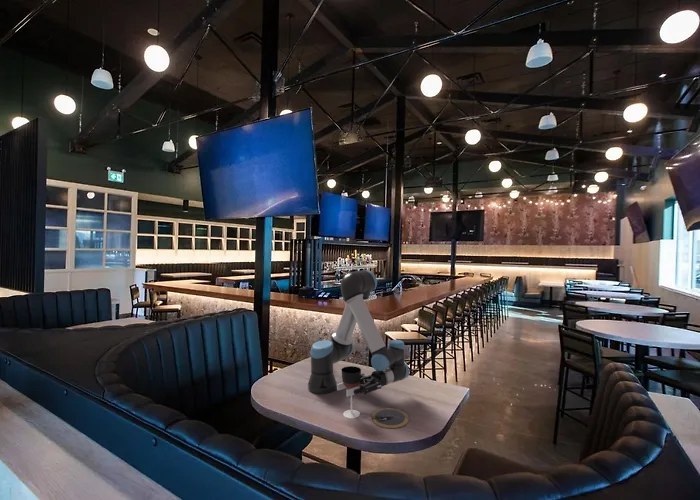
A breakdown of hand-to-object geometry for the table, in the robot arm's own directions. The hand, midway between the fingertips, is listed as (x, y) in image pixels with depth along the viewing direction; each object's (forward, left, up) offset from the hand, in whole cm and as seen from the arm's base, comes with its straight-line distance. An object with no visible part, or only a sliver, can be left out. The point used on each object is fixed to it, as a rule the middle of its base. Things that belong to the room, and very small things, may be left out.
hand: (342, 390), depth 150 cm
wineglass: (+2, +5, -12) cm, 13 cm away
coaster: (+18, +11, -12) cm, 24 cm away
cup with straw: (-46, +41, -12) cm, 63 cm away
